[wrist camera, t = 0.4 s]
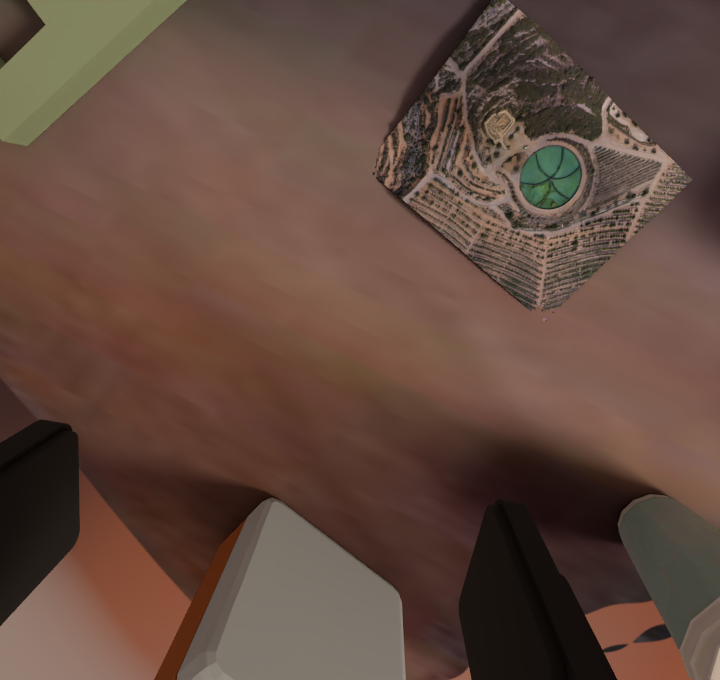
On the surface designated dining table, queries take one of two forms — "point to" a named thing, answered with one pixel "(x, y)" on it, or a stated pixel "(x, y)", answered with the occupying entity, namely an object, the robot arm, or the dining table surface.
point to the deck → (70, 58)
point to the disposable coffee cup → (679, 575)
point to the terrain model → (526, 161)
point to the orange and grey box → (287, 610)
